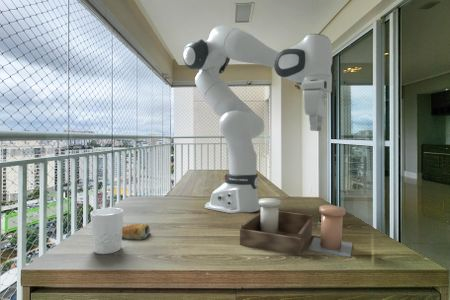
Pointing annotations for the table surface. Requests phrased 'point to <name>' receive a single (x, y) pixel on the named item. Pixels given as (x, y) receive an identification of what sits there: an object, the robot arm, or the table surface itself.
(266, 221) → the white glossy domed part
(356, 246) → the table surface
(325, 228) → the peach mushroom knob
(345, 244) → the slate tile
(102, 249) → the white cup
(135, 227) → the pastry
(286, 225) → the wooden tray
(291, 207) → the table surface
